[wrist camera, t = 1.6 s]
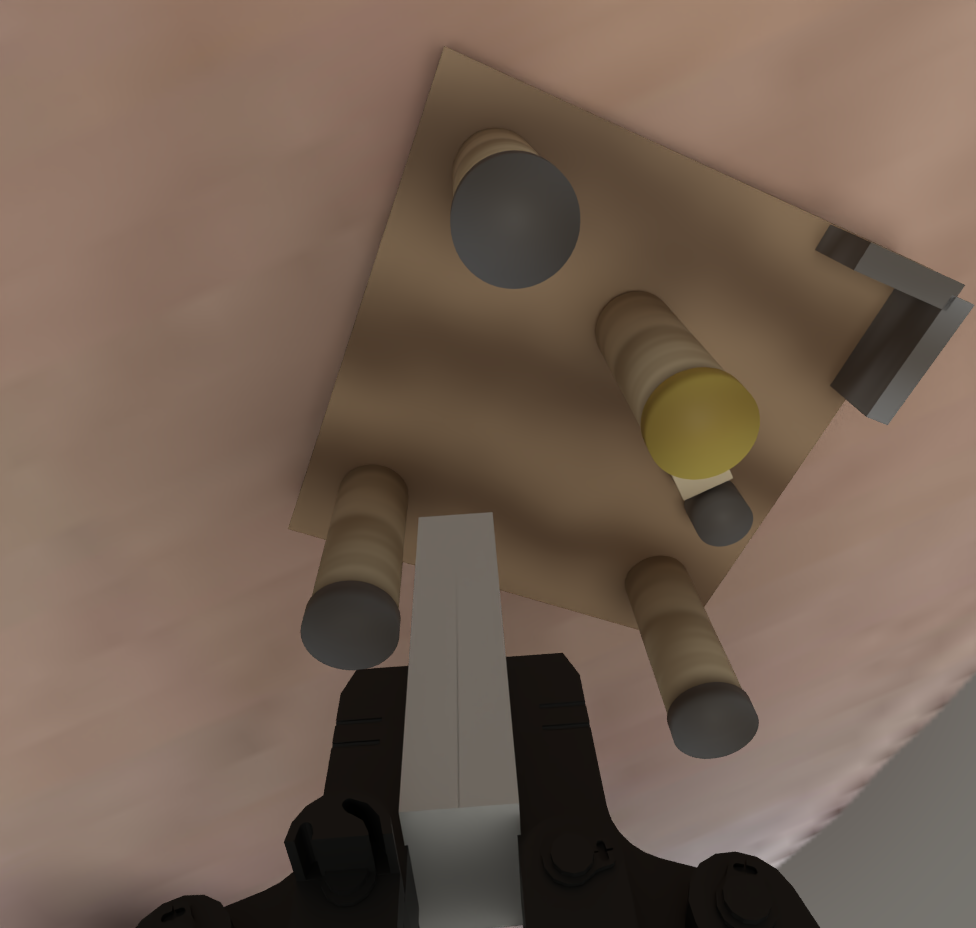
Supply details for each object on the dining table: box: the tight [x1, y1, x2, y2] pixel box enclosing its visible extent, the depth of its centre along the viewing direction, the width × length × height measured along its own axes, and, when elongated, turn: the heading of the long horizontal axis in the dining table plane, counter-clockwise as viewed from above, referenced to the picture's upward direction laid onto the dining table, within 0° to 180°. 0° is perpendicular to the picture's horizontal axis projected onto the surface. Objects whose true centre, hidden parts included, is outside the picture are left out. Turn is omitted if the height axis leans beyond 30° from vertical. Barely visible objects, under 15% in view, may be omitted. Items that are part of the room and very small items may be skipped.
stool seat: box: [288, 46, 974, 759], centre depth 27 cm, size 20×20×11 cm
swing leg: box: [595, 291, 760, 547], centre depth 26 cm, size 12×3×9 cm, turn 28°
